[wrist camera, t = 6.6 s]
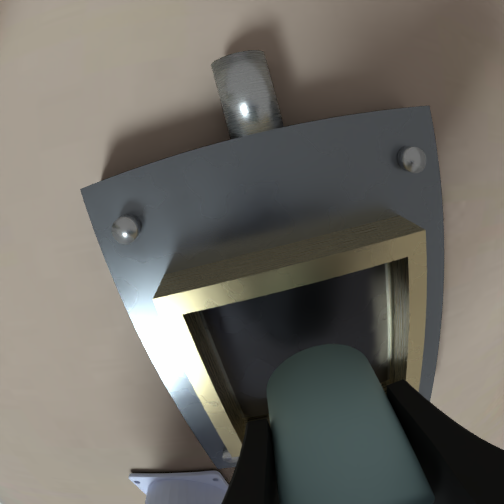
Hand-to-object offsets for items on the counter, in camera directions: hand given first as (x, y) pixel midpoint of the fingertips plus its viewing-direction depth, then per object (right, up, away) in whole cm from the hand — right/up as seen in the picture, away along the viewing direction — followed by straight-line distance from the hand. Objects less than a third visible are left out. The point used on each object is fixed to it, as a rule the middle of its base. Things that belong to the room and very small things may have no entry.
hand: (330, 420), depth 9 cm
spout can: (0, +1, +2) cm, 2 cm away
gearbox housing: (-1, +4, +6) cm, 7 cm away
